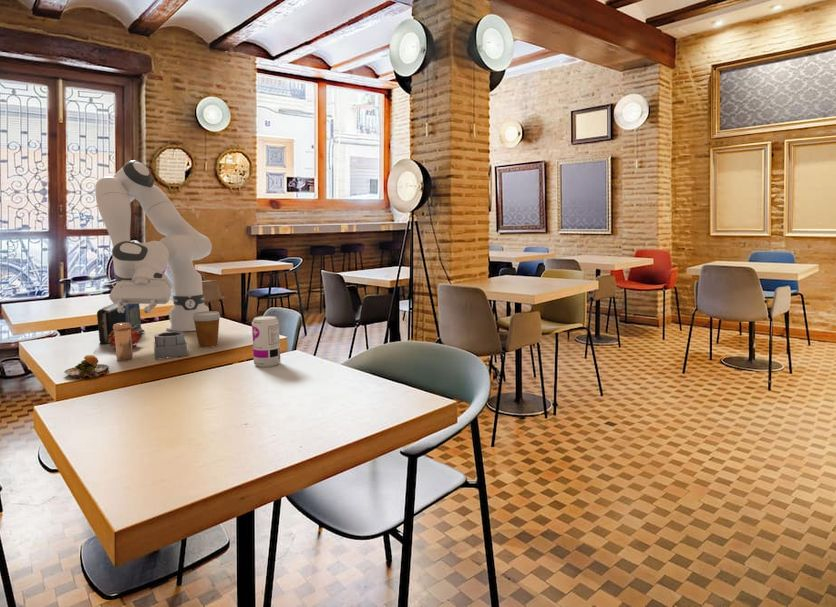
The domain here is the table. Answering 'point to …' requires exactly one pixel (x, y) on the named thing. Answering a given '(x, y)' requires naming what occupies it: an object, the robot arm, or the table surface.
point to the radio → (117, 320)
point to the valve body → (170, 345)
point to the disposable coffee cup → (207, 328)
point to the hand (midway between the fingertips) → (133, 312)
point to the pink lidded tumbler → (123, 341)
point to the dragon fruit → (134, 337)
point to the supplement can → (266, 341)
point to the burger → (88, 368)
